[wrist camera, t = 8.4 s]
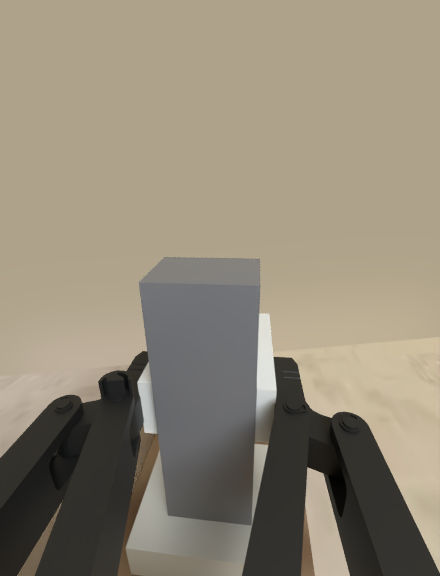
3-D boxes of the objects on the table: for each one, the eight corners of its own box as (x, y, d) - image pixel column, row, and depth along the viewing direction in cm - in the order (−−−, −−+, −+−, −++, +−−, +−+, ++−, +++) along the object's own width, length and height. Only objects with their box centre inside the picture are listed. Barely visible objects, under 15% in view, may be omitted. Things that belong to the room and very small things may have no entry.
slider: (284, 596, 13) (317, 307, 8) (131, 574, 14) (70, 298, 9) (276, 469, 19) (293, 250, 14) (167, 458, 20) (143, 248, 14)
